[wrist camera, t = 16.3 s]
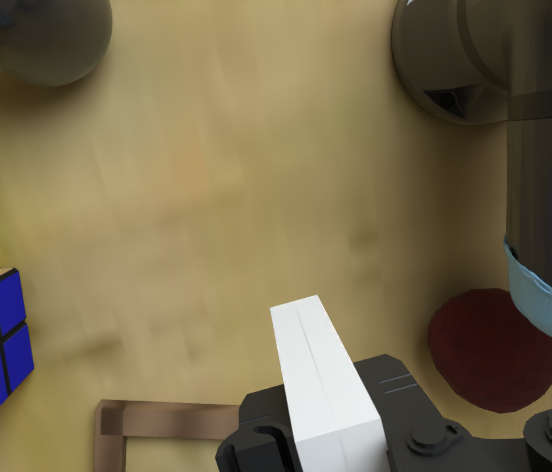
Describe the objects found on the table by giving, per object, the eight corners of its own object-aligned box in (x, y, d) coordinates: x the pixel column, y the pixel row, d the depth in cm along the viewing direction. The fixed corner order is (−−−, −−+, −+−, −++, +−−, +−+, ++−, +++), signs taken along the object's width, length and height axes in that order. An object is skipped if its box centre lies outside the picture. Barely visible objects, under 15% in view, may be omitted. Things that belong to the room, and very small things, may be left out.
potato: (536, 362, 47) (598, 407, 39) (433, 399, 47) (473, 452, 39) (512, 259, 45) (572, 284, 37) (402, 297, 45) (439, 331, 37)
